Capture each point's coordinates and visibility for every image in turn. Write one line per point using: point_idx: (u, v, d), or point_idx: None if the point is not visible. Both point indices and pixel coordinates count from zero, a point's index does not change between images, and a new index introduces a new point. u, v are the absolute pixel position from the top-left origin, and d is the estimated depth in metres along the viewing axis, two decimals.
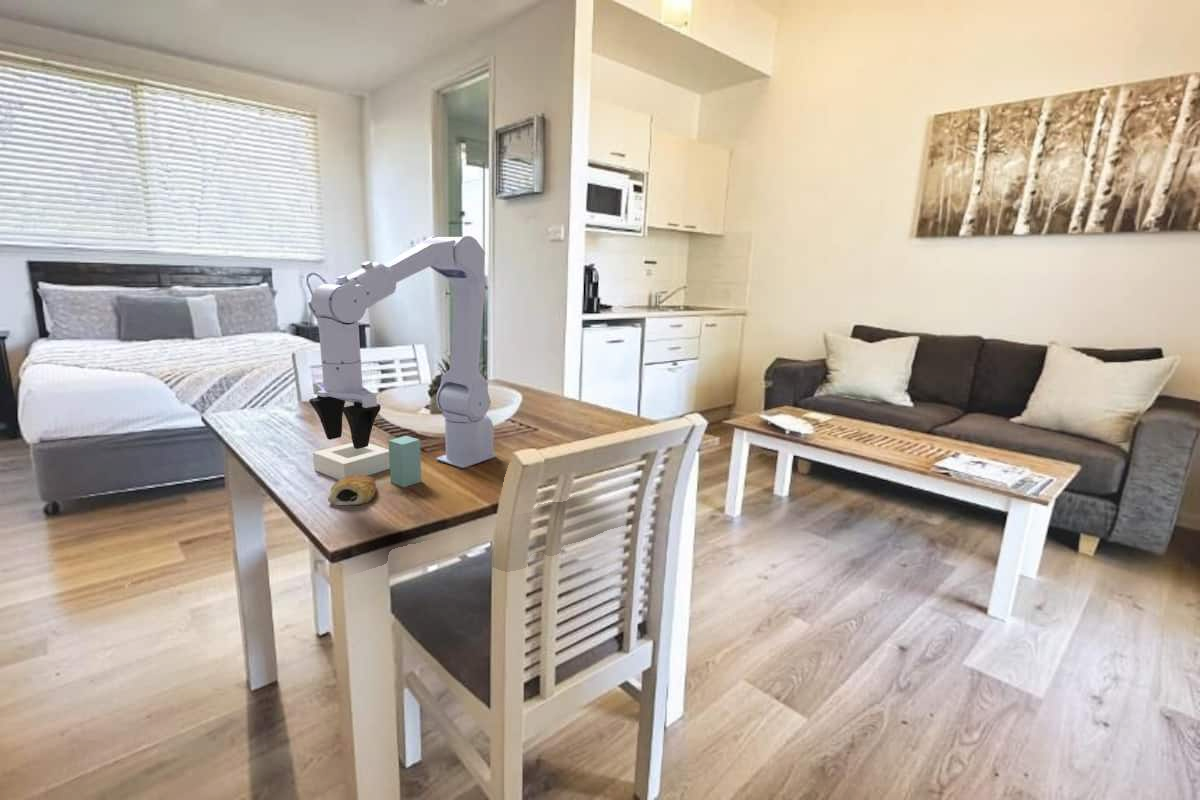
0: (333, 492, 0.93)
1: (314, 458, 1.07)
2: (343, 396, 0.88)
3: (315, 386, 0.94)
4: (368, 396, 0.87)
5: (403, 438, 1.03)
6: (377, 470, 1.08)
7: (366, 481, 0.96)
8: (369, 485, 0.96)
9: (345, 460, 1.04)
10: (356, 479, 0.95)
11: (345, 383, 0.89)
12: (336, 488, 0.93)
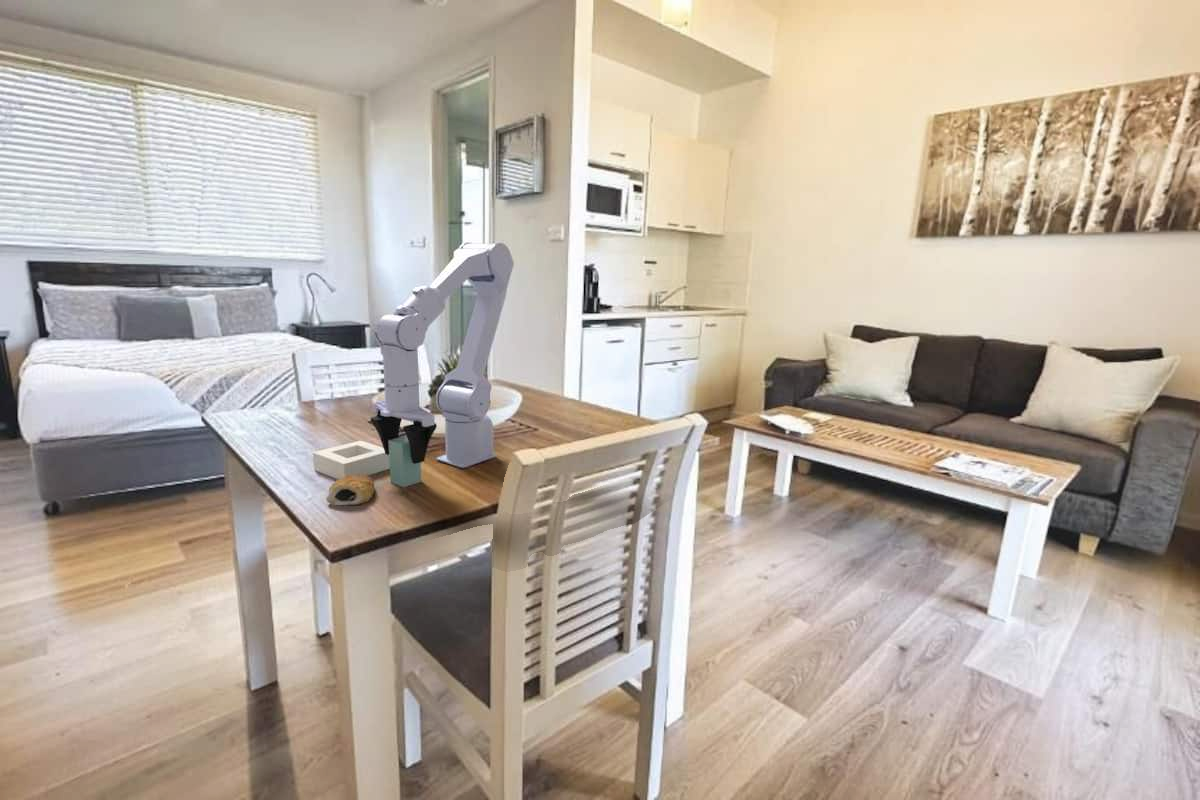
0: (332, 492, 0.92)
1: (314, 458, 1.07)
2: (404, 416, 0.97)
3: (375, 406, 1.03)
4: (427, 416, 0.97)
5: (403, 438, 1.03)
6: (377, 470, 1.08)
7: (365, 481, 0.96)
8: (368, 485, 0.96)
9: (345, 460, 1.04)
10: (355, 479, 0.95)
11: (405, 404, 0.98)
12: (335, 488, 0.92)
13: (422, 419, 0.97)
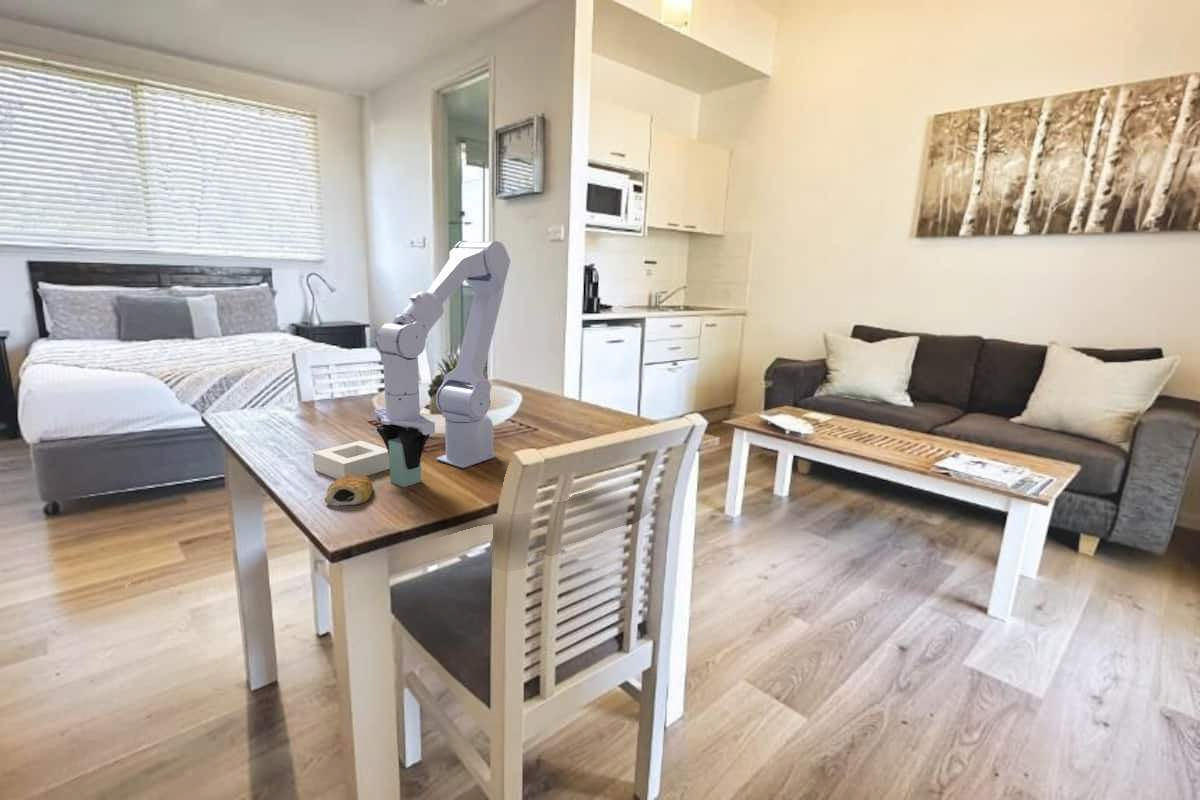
0: (330, 492, 0.92)
1: (314, 458, 1.07)
2: (405, 424, 0.98)
3: (376, 413, 1.04)
4: (428, 424, 0.97)
5: None
6: (377, 470, 1.08)
7: (363, 481, 0.96)
8: (366, 485, 0.96)
9: (345, 460, 1.04)
10: (353, 479, 0.95)
11: (406, 412, 0.98)
12: (333, 488, 0.92)
13: (422, 427, 0.97)
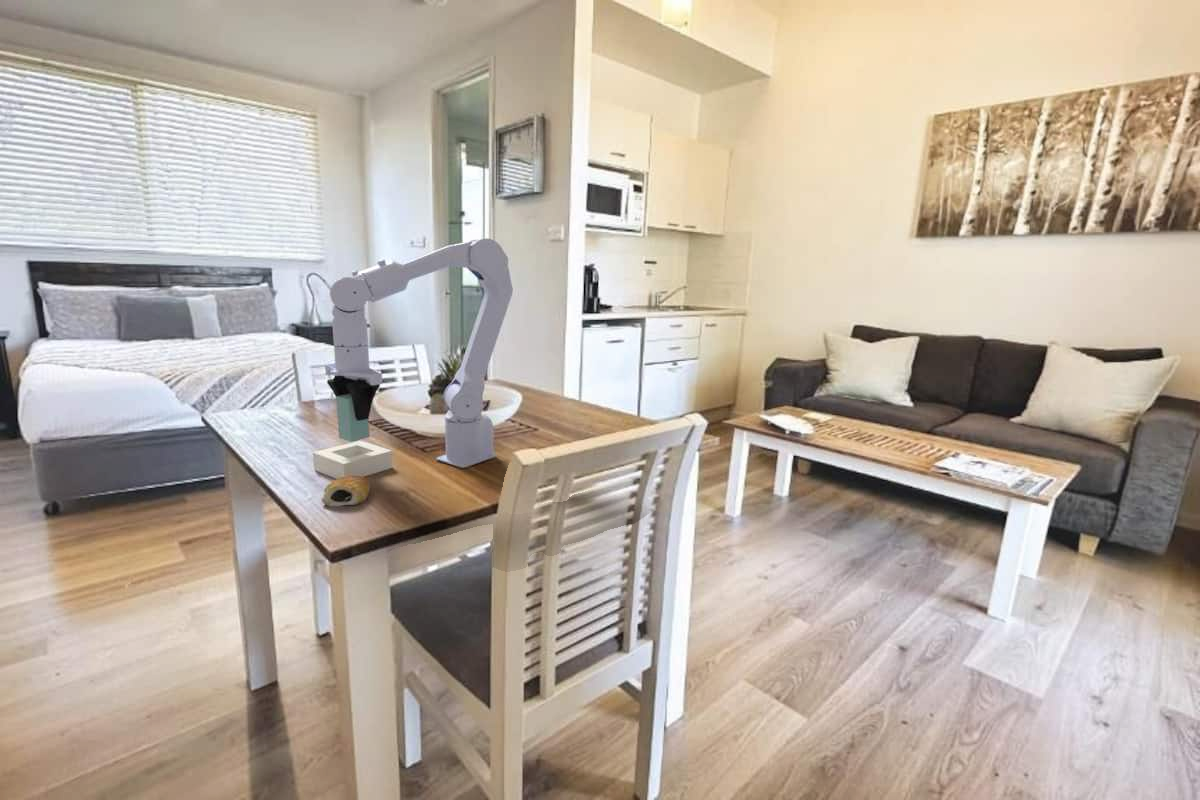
0: (327, 493, 0.92)
1: (314, 458, 1.07)
2: (353, 375, 1.01)
3: (327, 367, 1.07)
4: (375, 375, 1.00)
5: None
6: (377, 470, 1.08)
7: (360, 481, 0.96)
8: (363, 485, 0.96)
9: (345, 460, 1.04)
10: (350, 479, 0.95)
11: (354, 364, 1.02)
12: (330, 489, 0.92)
13: (369, 378, 1.00)
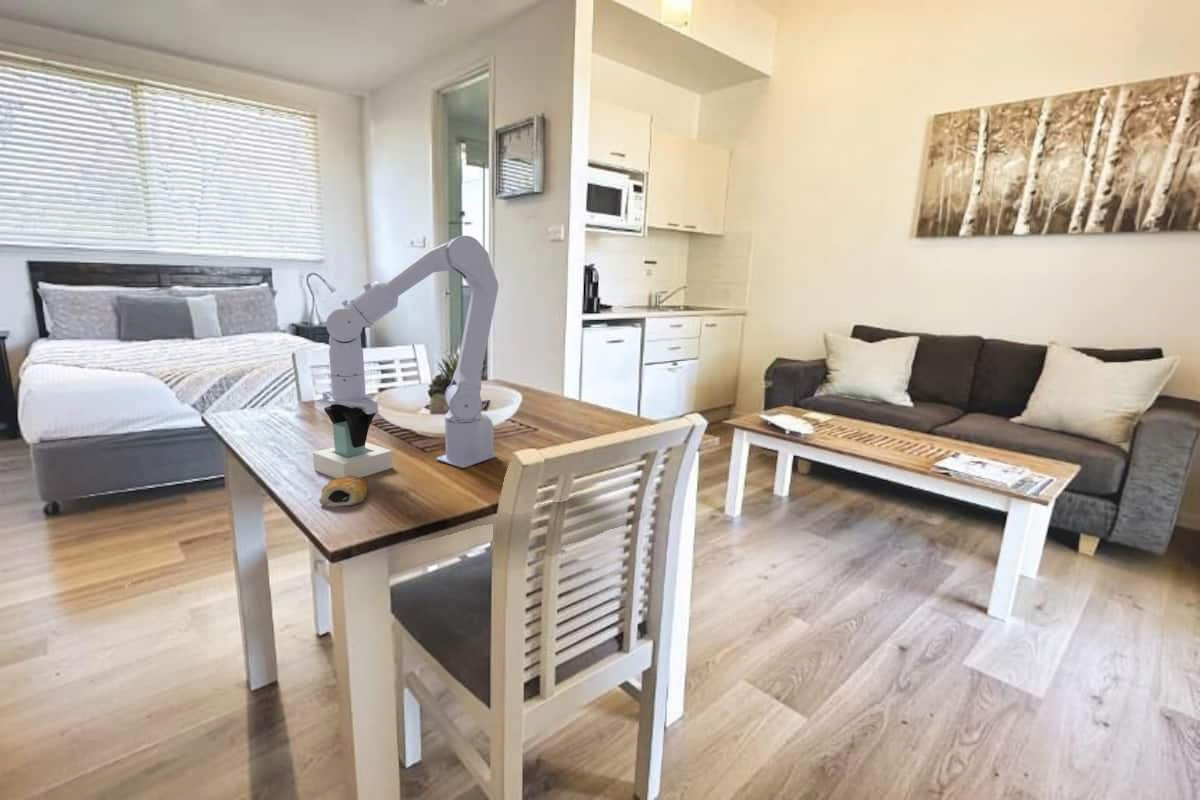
0: (325, 493, 0.92)
1: (314, 458, 1.07)
2: (349, 404, 1.03)
3: (324, 395, 1.09)
4: (370, 404, 1.02)
5: None
6: (377, 470, 1.08)
7: (358, 482, 0.95)
8: (361, 486, 0.95)
9: (345, 460, 1.04)
10: (347, 480, 0.95)
11: (350, 393, 1.03)
12: (328, 489, 0.92)
13: (365, 407, 1.02)
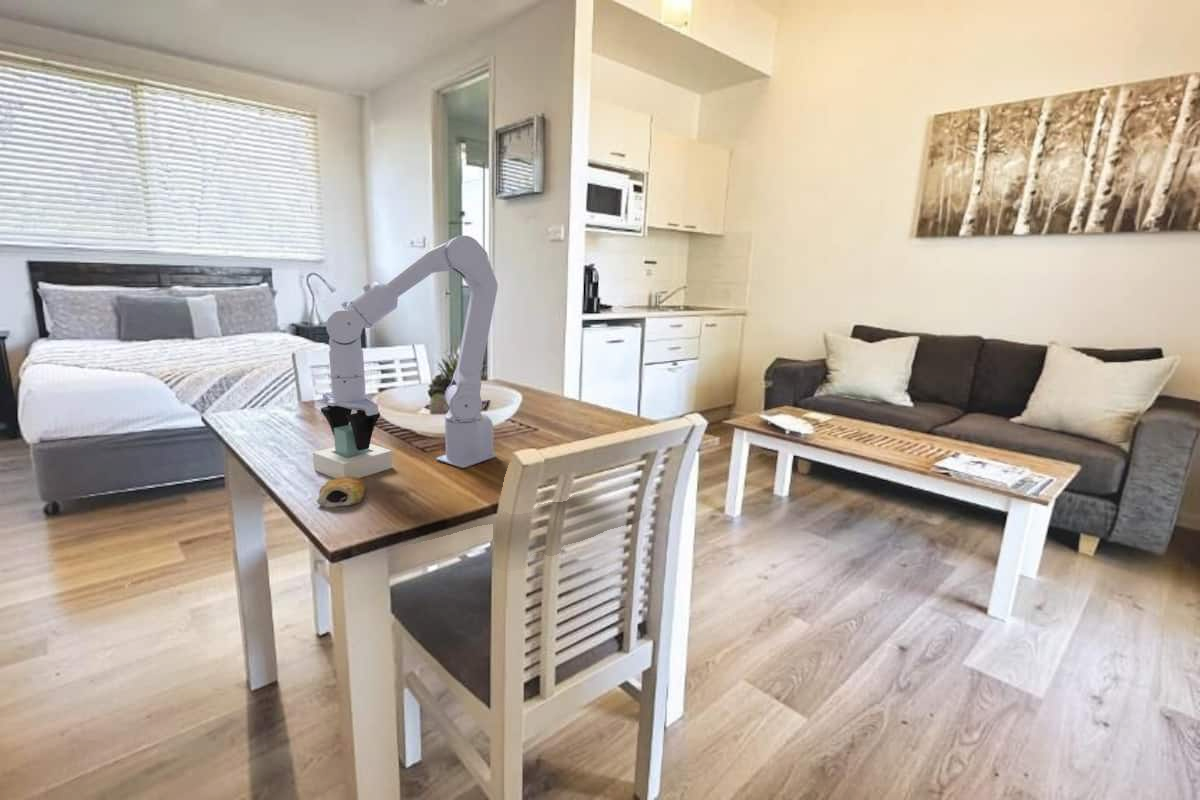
0: (323, 494, 0.92)
1: (314, 458, 1.07)
2: (349, 405, 1.03)
3: (324, 396, 1.09)
4: (371, 406, 1.02)
5: (348, 426, 1.08)
6: (377, 470, 1.08)
7: (355, 482, 0.95)
8: (359, 486, 0.95)
9: (345, 460, 1.04)
10: (345, 480, 0.95)
11: (350, 394, 1.03)
12: (326, 489, 0.92)
13: (365, 408, 1.02)
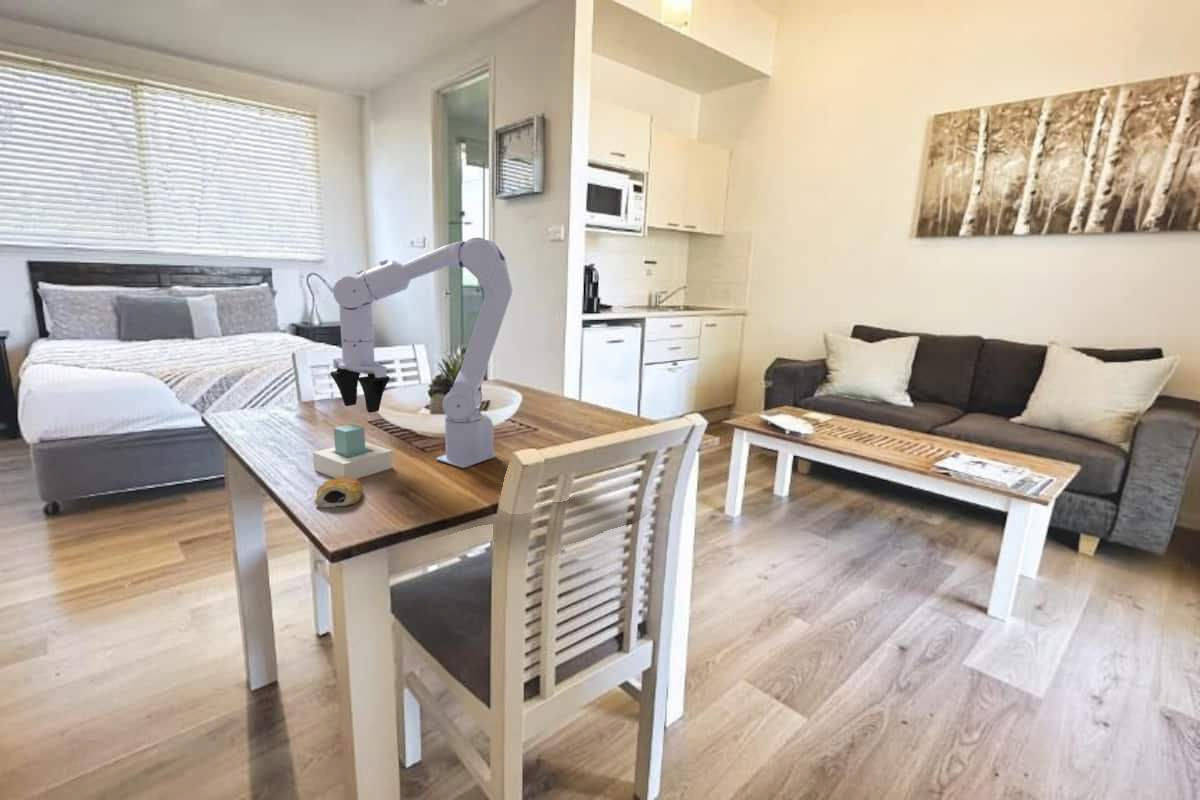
0: (320, 494, 0.92)
1: (314, 458, 1.07)
2: (359, 368, 1.08)
3: (335, 361, 1.14)
4: (380, 368, 1.07)
5: (348, 426, 1.08)
6: (377, 470, 1.08)
7: (353, 482, 0.95)
8: (356, 486, 0.95)
9: (345, 460, 1.04)
10: (342, 480, 0.95)
11: (360, 358, 1.08)
12: (323, 490, 0.92)
13: (375, 371, 1.07)
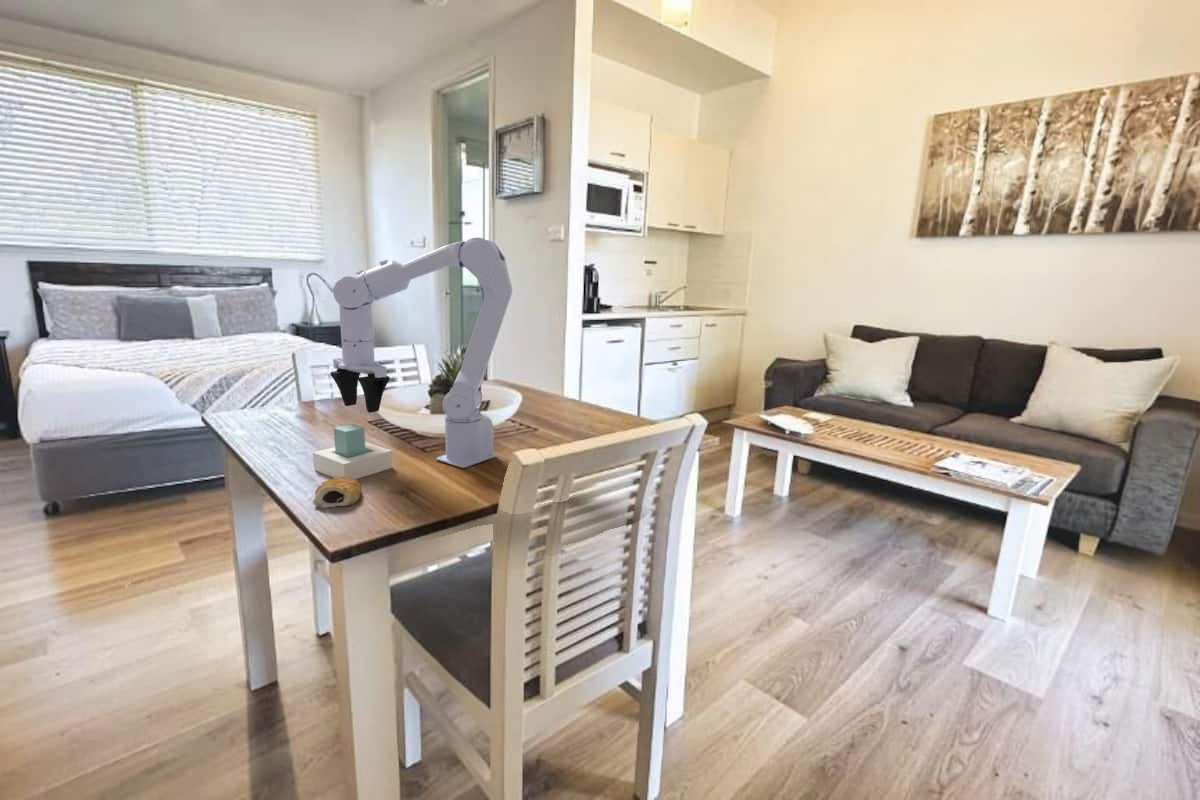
0: (319, 494, 0.91)
1: (314, 458, 1.07)
2: (359, 368, 1.08)
3: (335, 361, 1.14)
4: (380, 368, 1.07)
5: (348, 426, 1.08)
6: (377, 470, 1.08)
7: (351, 482, 0.95)
8: (355, 486, 0.95)
9: (345, 460, 1.04)
10: (341, 480, 0.95)
11: (360, 358, 1.08)
12: (322, 490, 0.91)
13: (375, 371, 1.07)
